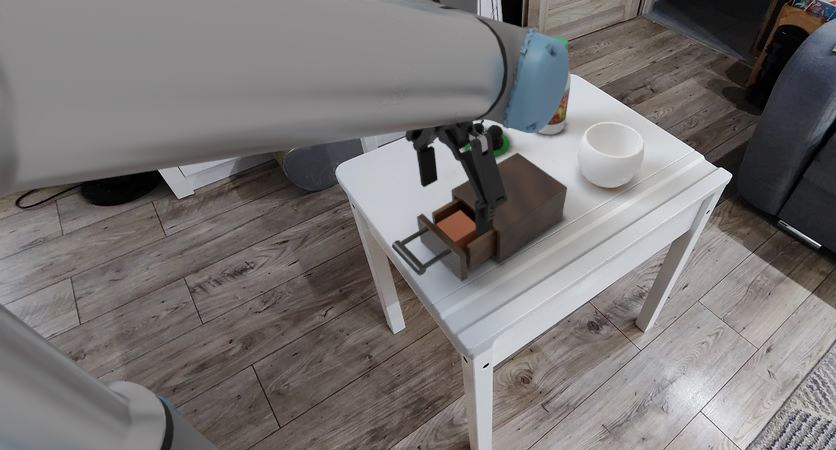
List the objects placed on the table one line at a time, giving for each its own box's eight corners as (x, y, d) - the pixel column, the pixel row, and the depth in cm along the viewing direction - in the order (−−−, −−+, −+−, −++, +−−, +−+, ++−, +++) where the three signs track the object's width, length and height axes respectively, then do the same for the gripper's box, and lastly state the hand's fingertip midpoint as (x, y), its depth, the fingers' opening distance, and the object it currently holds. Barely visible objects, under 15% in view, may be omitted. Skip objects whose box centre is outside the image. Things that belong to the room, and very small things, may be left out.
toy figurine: (487, 124, 104) (487, 102, 100) (518, 144, 100) (520, 121, 95) (454, 142, 100) (452, 120, 95) (485, 164, 95) (485, 142, 91)
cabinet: (499, 263, 78) (500, 231, 72) (453, 221, 84) (451, 189, 78) (561, 219, 85) (567, 187, 79) (515, 184, 91) (517, 152, 85)
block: (456, 261, 75) (454, 242, 71) (438, 243, 78) (435, 224, 74) (479, 246, 77) (479, 226, 74) (461, 229, 80) (460, 209, 76)
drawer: (430, 304, 71) (425, 280, 66) (389, 260, 76) (383, 235, 72) (525, 237, 80) (528, 212, 76) (483, 203, 86) (483, 177, 81)
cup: (564, 163, 96) (571, 125, 88) (617, 153, 98) (627, 115, 91) (589, 203, 88) (598, 165, 81) (646, 191, 90) (659, 153, 83)
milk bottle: (527, 132, 103) (534, 47, 88) (533, 113, 108) (541, 29, 93) (561, 138, 102) (574, 52, 87) (566, 118, 107) (579, 34, 92)
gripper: (543, 114, 50) (529, 239, 66) (413, 34, 62) (427, 155, 78) (492, 141, 47) (490, 266, 62) (365, 50, 59) (390, 174, 75)
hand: (455, 205), depth 70 cm, fingers open, 13 cm apart
